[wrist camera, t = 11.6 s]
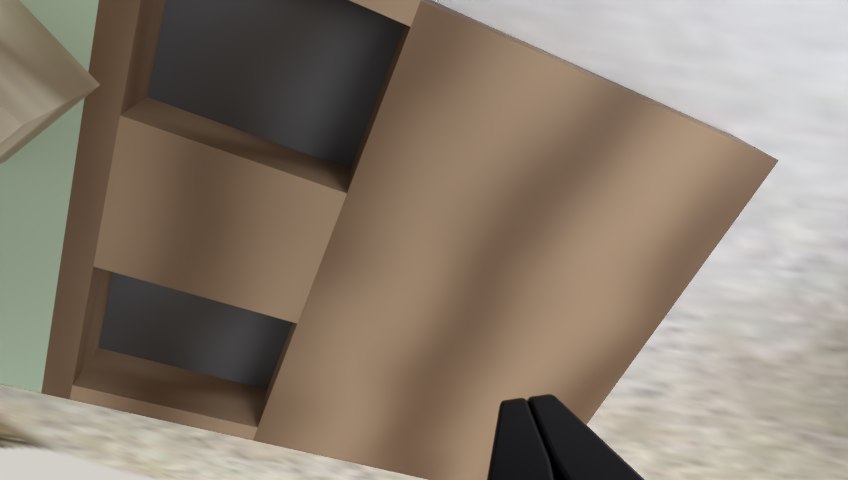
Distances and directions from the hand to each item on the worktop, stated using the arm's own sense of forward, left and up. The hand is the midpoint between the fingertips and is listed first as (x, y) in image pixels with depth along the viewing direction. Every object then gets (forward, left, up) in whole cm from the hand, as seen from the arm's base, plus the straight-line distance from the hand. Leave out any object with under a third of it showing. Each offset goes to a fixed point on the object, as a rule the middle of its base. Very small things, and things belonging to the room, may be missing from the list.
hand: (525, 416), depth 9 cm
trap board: (+4, +3, -13) cm, 14 cm away
